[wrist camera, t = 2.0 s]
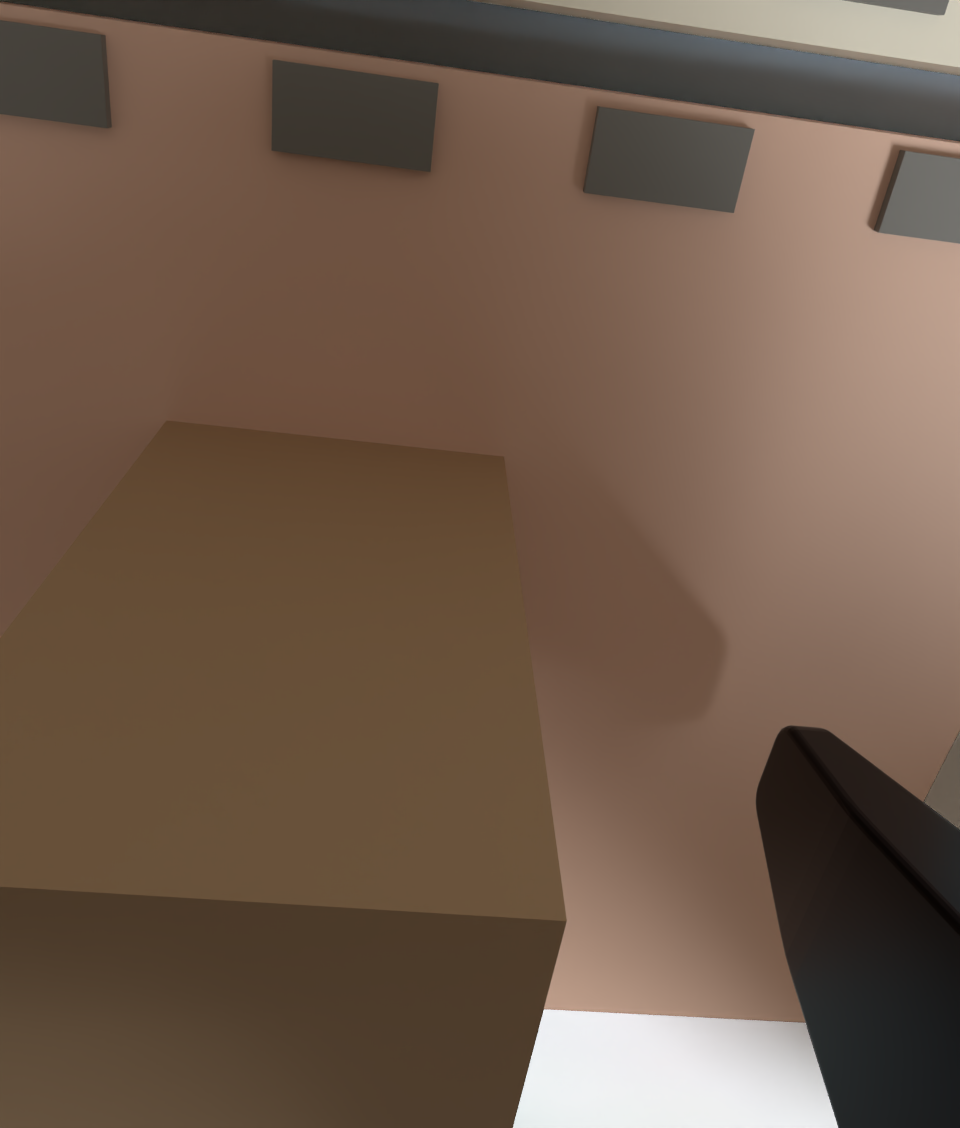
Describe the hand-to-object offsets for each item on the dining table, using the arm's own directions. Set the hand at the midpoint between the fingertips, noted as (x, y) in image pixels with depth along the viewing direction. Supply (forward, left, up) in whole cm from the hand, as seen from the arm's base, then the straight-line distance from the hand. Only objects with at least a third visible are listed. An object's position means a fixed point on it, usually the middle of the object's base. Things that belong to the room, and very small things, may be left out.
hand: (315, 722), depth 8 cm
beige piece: (0, 0, -2) cm, 2 cm away
